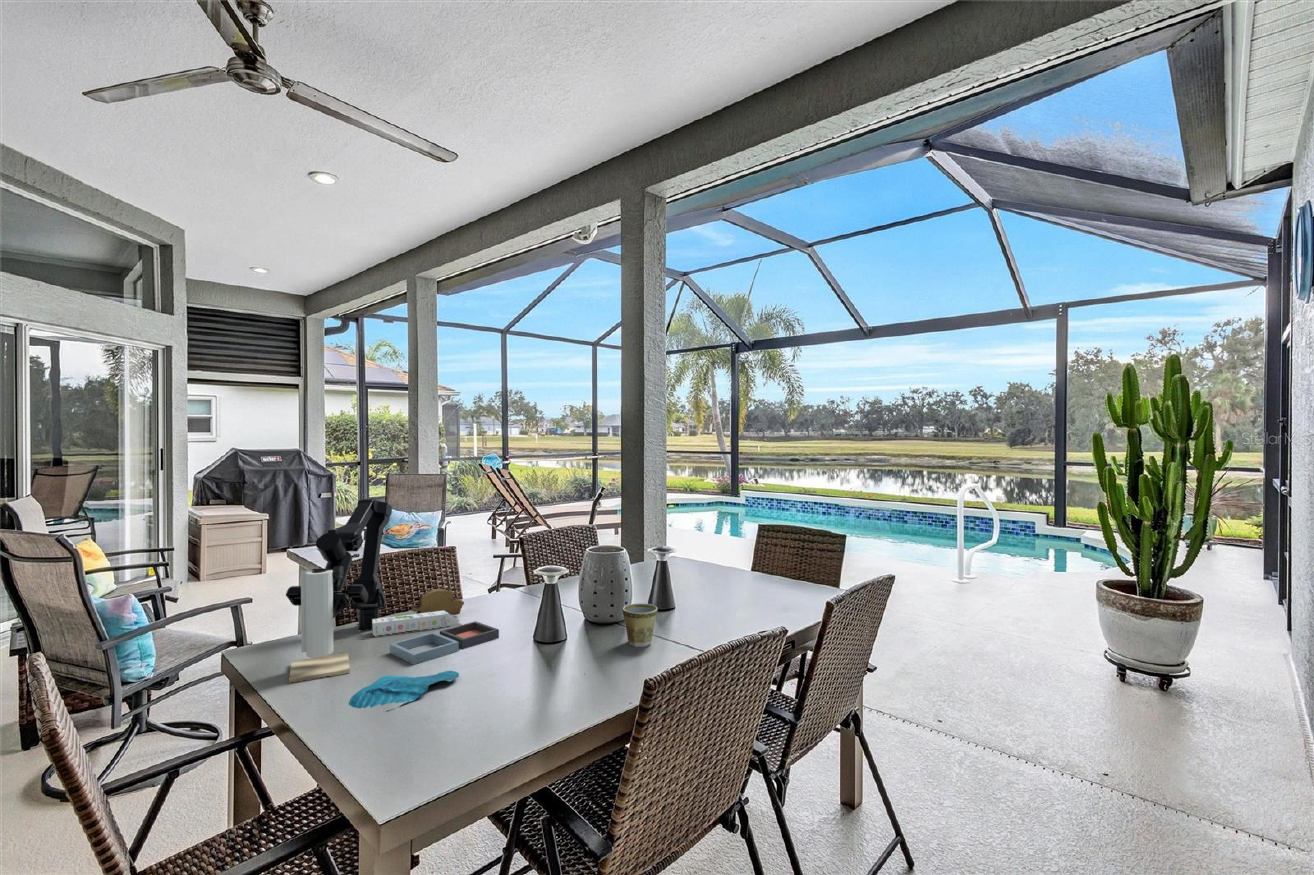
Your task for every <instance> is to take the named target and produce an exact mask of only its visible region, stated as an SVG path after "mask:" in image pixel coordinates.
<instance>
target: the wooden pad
mask: <svg viewBox="0 0 1314 875" xmlns="http://www.w3.org/2000/svg"><path fill="white" fill-rule="evenodd" d="M289 671H290V672H289V678H288V683H289V684H292V683H291V682H295V683H298V682H297V681H300V682H302V681H301V680H306V681H311V680H318V679H321V678H320V677H324V678H327V677H326V676H330V677H336V676H340V675H347V674H350V673H351V668H350V660H349V653H348V652H344V653H337V654H329V655H327V656H323V657H317V658H310V657H309V658H305V659H299V660H293V661H291V663H290V670H289ZM346 673H347V674H346ZM317 678H318V679H317Z"/></svg>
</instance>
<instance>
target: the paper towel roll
mask: <svg viewBox="0 0 1314 875" xmlns="http://www.w3.org/2000/svg"><path fill="white" fill-rule="evenodd" d="M315 571H316V570H313V571H312V569H307V570H300V586H301V606H300V622H301V623H300V624H301V627H300V633H301V636H300V638H301V640H300V642H301V649H300V650H301V653H306V657H307V658H309V659H310V658H317V657H323V656H330V655H332V654H333V652H334V619H333V575H332V572H333V570H328V571H326V570H325V571H321V572H315Z"/></svg>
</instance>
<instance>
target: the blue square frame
mask: <svg viewBox="0 0 1314 875" xmlns="http://www.w3.org/2000/svg"><path fill="white" fill-rule="evenodd" d="M431 642H432V643H433V644H435V645H438V646H435V647H432V648H428V649H425V650H421V651H418V652H414V651H412V650H410V649H413V648H417V647H421V646H424V645H428V644H430V643H431ZM423 644H424V645H423ZM420 645H421V646H420ZM408 648H410V649H408ZM459 649H460V648H459V642H458V641H455V640H453V639H450V638H448V637H445V636H443V635H440V633H439V632H435V631H432V632H430V633H426V634H425V633H424V634H421V635H418V636H414V637H410V638H406V639H404V640H399V641H396V642H392V643H389V654H391V653H392V655H393V656H395V657H397V658H399V657H400V658H399V659H401V658H402V659H401V660H403V661H405V662H407V663H409V662H410V663H409V664H411V663H412V665H418V664H421V663H424V662H427V661H431V660H434V659H438V658H441V657H443V656H446V655H447V656H448V655H450V654H453V653H456V652H459Z"/></svg>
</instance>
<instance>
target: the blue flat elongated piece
mask: <svg viewBox="0 0 1314 875" xmlns="http://www.w3.org/2000/svg"><path fill="white" fill-rule="evenodd" d="M408 676H409V675H408ZM408 676H407V675H387V676H386V675H385V676H382V677H380V678H379V677H378V679H377V680H376V681H374V682H372V684H370V685H368V686H365V687H363V688H361V689H360V690H358V691H356V693H354V694H353V695H352V696H351V698H350V699H349V701H348V705H349V706H350V707H352V708H355V709H356V708H357V709H366V708H370V709H372V708H374V707H376V706H378V705H381V706H384V705H387V704H393V703H394V704H399V703H402V704H401V705H399V706H398V708H400V707H402V706H404V705H406V704H410V703H413V702H415V701H416V700H417V699H419V697H421V696H423V695H424V694H425V693H426V692H428V691H429V687H430V685H433V684H435V683H438V682H442V681H447V682H453V680H455V679H457V678H459V676H460V673H459V672H458V671H454V670H445V671H441V672H438V673H437V674H431V675H426V676H416V677H415V676H409V677H408ZM411 700H412V701H411ZM406 701H407V702H406ZM409 701H410V702H409ZM395 709H396V707H395V708H391V709H389V710H388V709H387V710H386V711H387V712H389V711H392V710H395ZM383 712H385V711H383Z"/></svg>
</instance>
